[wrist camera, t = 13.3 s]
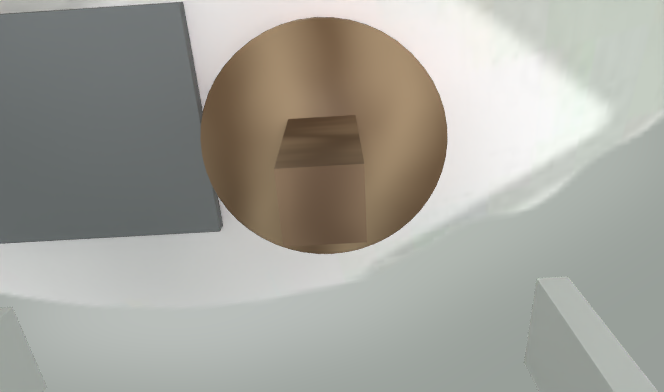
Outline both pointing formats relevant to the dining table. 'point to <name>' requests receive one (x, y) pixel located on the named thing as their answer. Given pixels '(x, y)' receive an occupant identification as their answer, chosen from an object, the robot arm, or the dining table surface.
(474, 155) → the dining table surface
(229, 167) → the lid
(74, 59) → the mat
